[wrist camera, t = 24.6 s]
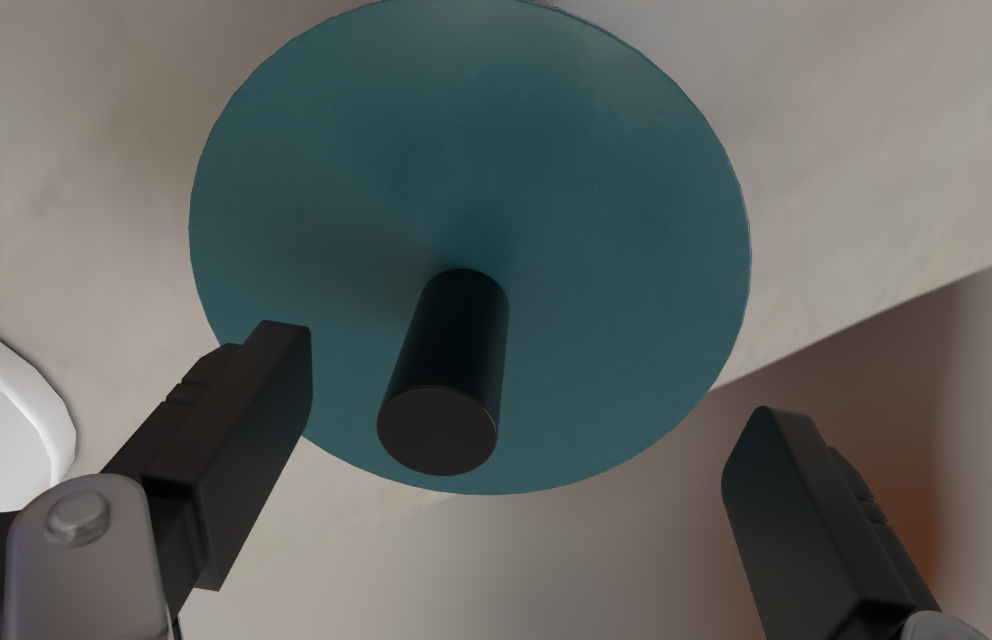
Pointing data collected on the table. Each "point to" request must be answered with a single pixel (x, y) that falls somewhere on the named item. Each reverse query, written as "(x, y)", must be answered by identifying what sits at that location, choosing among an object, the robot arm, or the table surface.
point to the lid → (476, 240)
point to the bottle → (30, 433)
